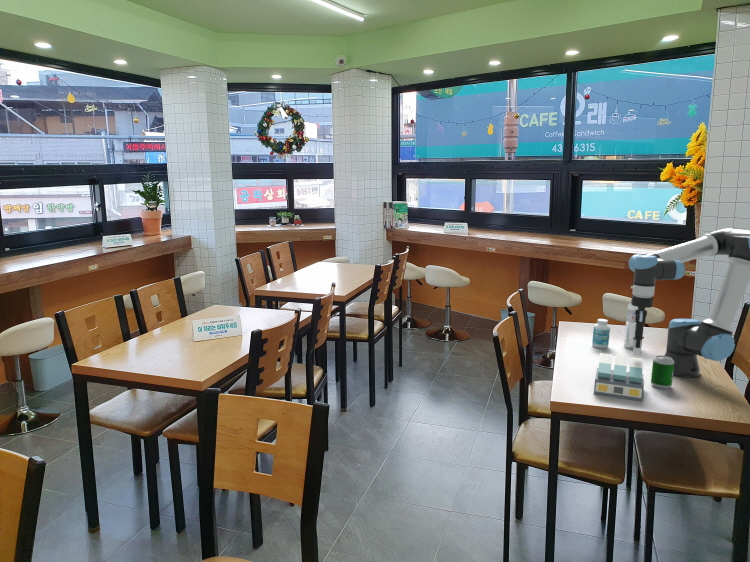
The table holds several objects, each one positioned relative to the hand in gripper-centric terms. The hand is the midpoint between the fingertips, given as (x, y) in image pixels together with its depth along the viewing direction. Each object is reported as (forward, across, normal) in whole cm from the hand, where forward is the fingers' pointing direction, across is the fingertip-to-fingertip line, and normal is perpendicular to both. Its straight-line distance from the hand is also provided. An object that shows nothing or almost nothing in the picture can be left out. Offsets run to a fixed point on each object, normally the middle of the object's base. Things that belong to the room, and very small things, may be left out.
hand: (636, 355), depth 222 cm
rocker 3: (+6, +4, 0) cm, 7 cm away
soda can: (+14, -9, +10) cm, 20 cm away
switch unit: (+14, +4, -5) cm, 16 cm away
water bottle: (+14, -61, -1) cm, 62 cm away
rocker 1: (+6, +4, -11) cm, 13 cm away
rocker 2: (+6, +4, -5) cm, 9 cm away
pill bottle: (+14, -56, -15) cm, 59 cm away
